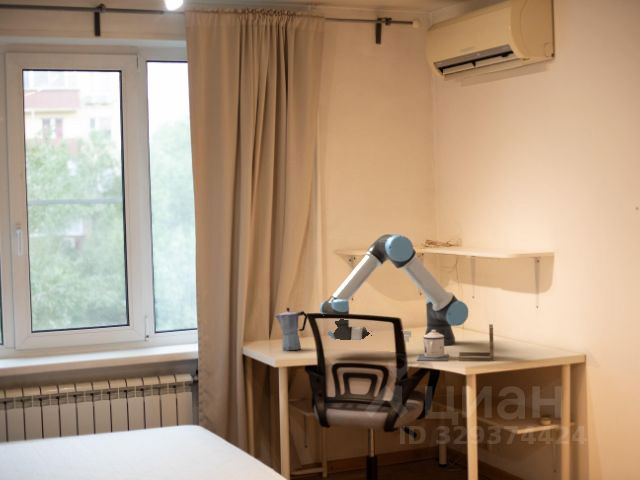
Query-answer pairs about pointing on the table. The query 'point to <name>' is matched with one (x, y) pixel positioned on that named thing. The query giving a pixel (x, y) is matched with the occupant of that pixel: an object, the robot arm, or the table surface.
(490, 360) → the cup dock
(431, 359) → the slate mat
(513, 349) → the table surface
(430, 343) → the teacup with lid
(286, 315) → the moka pot
